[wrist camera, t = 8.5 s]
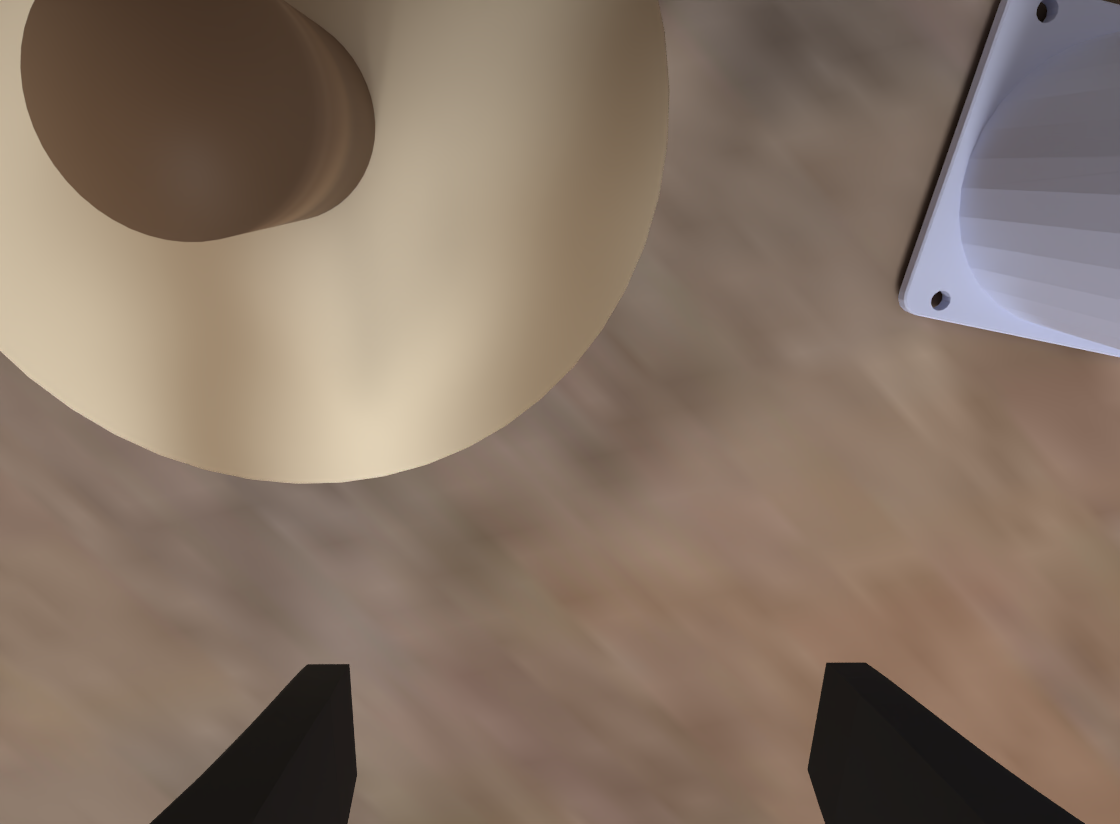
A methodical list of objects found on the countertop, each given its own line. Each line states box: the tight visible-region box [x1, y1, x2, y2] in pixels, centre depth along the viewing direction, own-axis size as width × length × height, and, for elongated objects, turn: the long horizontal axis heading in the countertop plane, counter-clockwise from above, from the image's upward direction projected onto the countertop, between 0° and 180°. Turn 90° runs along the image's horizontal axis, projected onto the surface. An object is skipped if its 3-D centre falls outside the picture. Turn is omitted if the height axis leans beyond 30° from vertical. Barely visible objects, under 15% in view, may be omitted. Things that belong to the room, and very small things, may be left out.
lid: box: [0, 0, 669, 483], centre depth 11 cm, size 14×14×5 cm
